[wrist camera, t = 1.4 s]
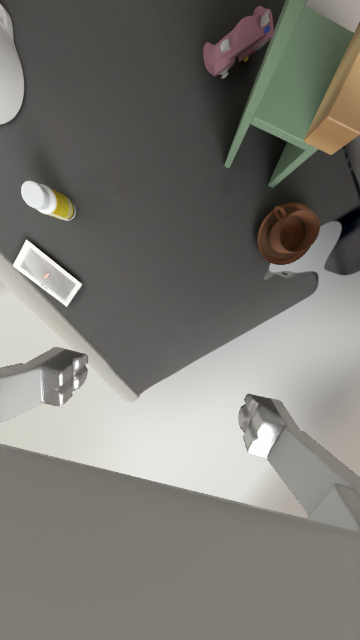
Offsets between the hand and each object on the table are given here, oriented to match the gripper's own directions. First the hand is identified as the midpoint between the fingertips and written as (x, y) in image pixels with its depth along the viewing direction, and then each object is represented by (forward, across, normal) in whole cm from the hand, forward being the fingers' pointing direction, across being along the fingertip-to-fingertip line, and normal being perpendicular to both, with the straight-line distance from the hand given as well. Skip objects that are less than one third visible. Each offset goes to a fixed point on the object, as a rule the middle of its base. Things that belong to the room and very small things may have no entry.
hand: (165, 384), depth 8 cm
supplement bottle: (+34, +31, -12) cm, 47 cm away
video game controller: (+34, +2, -40) cm, 53 cm away
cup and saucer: (+36, -18, -17) cm, 43 cm away
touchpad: (+34, +34, +4) cm, 48 cm away
